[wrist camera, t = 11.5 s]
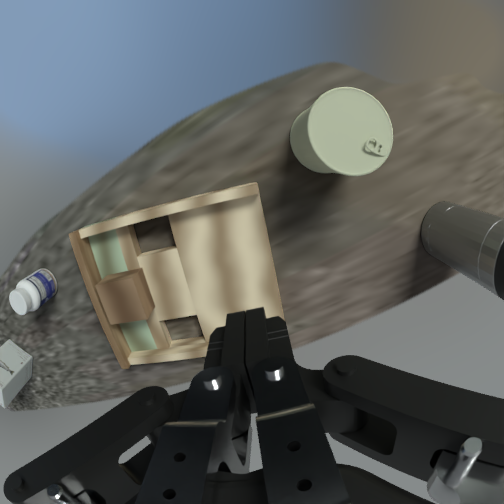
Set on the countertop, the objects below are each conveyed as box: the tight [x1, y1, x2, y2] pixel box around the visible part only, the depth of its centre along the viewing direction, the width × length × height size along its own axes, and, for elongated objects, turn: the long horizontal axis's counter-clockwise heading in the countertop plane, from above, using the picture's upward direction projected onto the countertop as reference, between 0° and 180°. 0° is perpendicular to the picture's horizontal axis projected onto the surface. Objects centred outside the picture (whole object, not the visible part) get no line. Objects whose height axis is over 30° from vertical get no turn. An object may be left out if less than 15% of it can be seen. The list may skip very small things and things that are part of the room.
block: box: [95, 268, 155, 325], centre depth 39 cm, size 6×6×4 cm
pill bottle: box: [9, 269, 57, 315], centre depth 38 cm, size 5×5×9 cm
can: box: [290, 87, 393, 176], centre depth 31 cm, size 9×9×12 cm
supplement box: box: [0, 339, 33, 409], centre depth 41 cm, size 7×7×13 cm
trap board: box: [69, 182, 285, 369], centre depth 40 cm, size 26×22×5 cm
